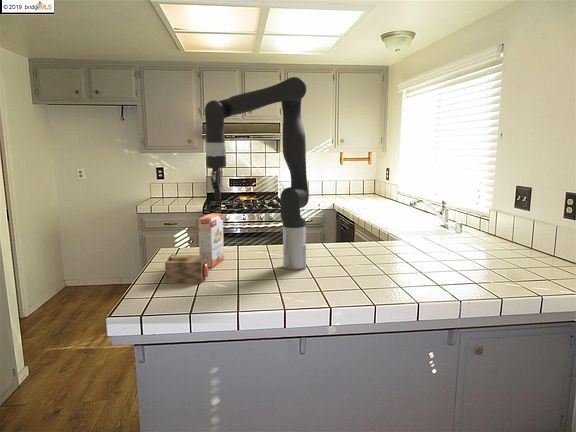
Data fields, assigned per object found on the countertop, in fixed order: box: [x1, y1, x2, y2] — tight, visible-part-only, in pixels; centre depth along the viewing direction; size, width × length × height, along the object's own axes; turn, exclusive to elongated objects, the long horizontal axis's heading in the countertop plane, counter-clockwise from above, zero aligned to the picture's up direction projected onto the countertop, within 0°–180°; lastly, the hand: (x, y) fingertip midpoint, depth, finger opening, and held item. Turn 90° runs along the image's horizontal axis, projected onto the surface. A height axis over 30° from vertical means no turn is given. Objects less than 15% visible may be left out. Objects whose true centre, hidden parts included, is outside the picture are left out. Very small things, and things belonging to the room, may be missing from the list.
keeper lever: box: [167, 253, 190, 260], centre depth 153 cm, size 7×4×1 cm, turn 91°
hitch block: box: [164, 254, 206, 285], centre depth 154 cm, size 13×10×8 cm
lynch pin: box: [203, 264, 210, 278], centre depth 154 cm, size 15×5×5 cm, turn 90°
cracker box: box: [197, 212, 225, 269], centre depth 173 cm, size 14×6×21 cm, turn 168°
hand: (217, 199), depth 159 cm, fingers closed
